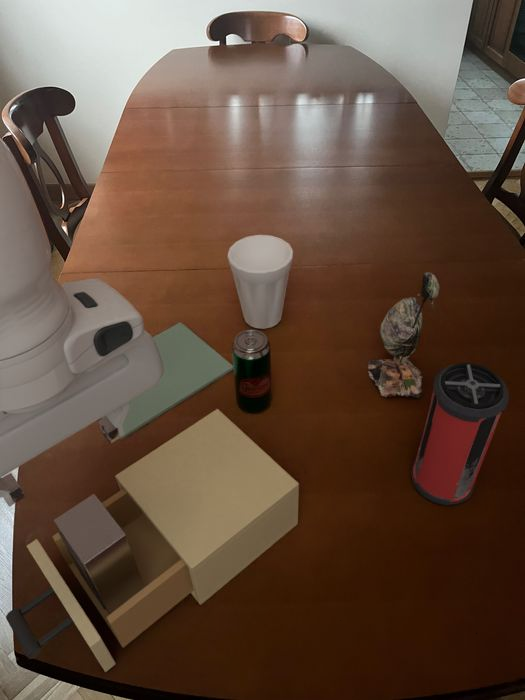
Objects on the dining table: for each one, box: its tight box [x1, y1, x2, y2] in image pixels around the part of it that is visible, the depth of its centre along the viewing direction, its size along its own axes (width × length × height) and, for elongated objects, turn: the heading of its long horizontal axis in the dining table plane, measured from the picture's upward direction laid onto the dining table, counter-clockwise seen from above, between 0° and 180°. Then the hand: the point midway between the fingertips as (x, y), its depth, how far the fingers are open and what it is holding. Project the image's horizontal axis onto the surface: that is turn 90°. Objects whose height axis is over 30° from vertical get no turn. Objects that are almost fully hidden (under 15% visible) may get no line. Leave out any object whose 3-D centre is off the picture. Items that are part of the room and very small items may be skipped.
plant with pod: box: [367, 271, 440, 399], centre depth 81 cm, size 8×11×20 cm
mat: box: [101, 321, 234, 441], centre depth 89 cm, size 20×14×1 cm
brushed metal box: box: [53, 493, 145, 615], centre depth 60 cm, size 5×6×12 cm
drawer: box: [5, 488, 194, 673], centre depth 62 cm, size 18×13×7 cm
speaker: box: [410, 362, 510, 506], centre depth 68 cm, size 8×8×18 cm
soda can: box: [231, 329, 273, 414], centre depth 81 cm, size 5×5×12 cm
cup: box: [227, 234, 294, 330], centre depth 93 cm, size 10×10×13 cm
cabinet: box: [114, 408, 300, 606], centre depth 68 cm, size 15×15×9 cm
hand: (66, 464), depth 51 cm, fingers open, 8 cm apart
